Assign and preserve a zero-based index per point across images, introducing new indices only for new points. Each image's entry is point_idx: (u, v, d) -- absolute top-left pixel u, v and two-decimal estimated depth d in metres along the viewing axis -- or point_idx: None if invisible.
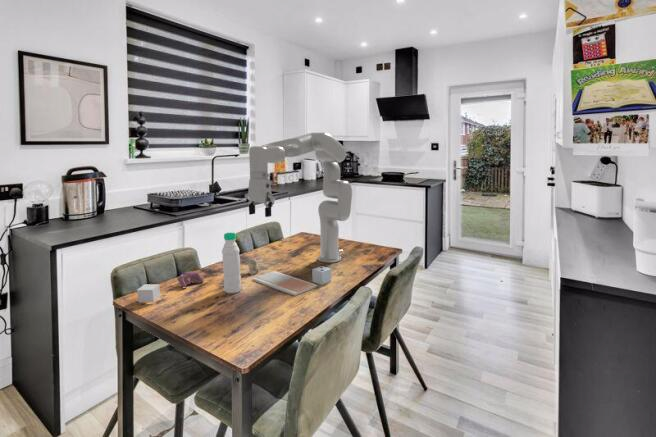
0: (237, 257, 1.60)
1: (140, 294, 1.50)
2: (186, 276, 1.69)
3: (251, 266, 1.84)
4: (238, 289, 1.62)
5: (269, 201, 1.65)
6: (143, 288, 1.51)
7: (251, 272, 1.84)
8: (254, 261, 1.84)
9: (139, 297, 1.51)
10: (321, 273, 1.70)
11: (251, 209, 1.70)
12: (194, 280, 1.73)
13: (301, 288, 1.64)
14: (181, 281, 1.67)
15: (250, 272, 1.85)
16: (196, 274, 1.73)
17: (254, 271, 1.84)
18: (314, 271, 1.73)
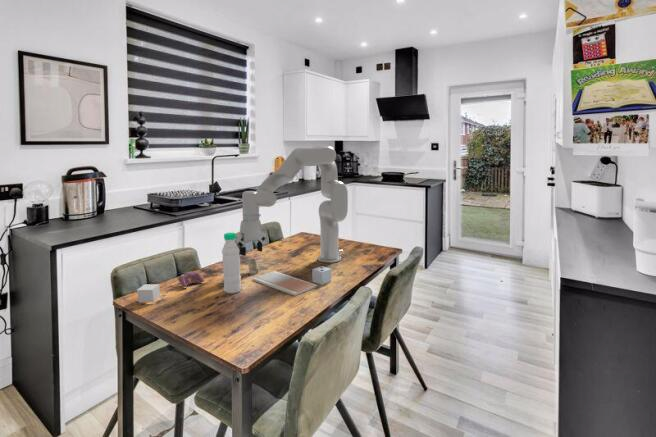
0: (237, 257, 1.60)
1: (140, 294, 1.50)
2: (187, 276, 1.69)
3: (251, 266, 1.84)
4: (238, 289, 1.62)
5: None
6: (143, 288, 1.51)
7: (251, 272, 1.84)
8: (254, 261, 1.84)
9: (139, 297, 1.51)
10: (321, 273, 1.70)
11: None
12: (195, 280, 1.72)
13: (301, 288, 1.64)
14: (182, 281, 1.67)
15: (250, 272, 1.85)
16: (197, 274, 1.73)
17: (254, 271, 1.84)
18: (314, 271, 1.73)
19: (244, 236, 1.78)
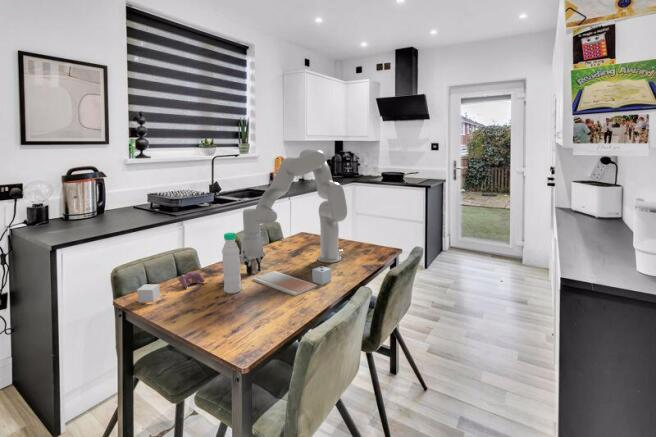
0: (237, 257, 1.60)
1: (140, 294, 1.50)
2: (187, 276, 1.69)
3: None
4: (238, 289, 1.62)
5: None
6: (143, 288, 1.51)
7: None
8: (254, 261, 1.84)
9: (139, 297, 1.51)
10: (321, 273, 1.70)
11: None
12: (195, 280, 1.72)
13: (301, 288, 1.64)
14: (182, 281, 1.66)
15: None
16: (197, 274, 1.72)
17: (254, 271, 1.84)
18: (314, 271, 1.73)
19: (246, 254, 1.80)
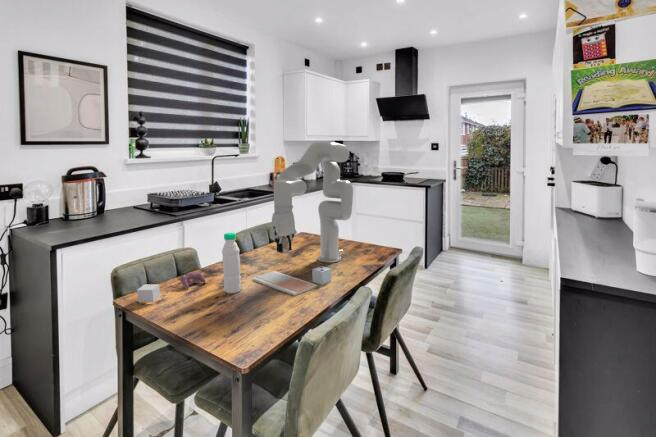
0: (237, 257, 1.60)
1: (140, 294, 1.50)
2: (188, 277, 1.68)
3: None
4: (238, 289, 1.62)
5: (288, 234, 1.71)
6: (143, 288, 1.51)
7: None
8: (285, 238, 1.67)
9: (139, 297, 1.51)
10: (321, 273, 1.70)
11: None
12: (196, 281, 1.72)
13: (301, 288, 1.64)
14: (184, 282, 1.66)
15: None
16: (198, 275, 1.72)
17: (285, 249, 1.67)
18: (314, 271, 1.73)
19: (276, 230, 1.63)
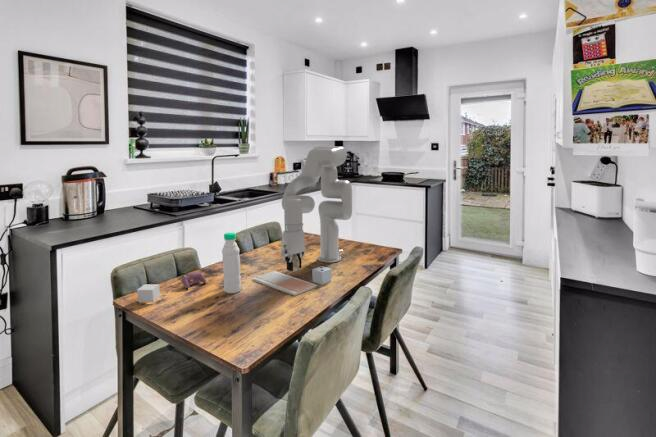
0: (237, 257, 1.60)
1: (140, 294, 1.50)
2: (189, 277, 1.68)
3: None
4: (238, 289, 1.62)
5: None
6: (143, 288, 1.51)
7: None
8: (295, 257, 1.64)
9: (139, 297, 1.51)
10: (321, 273, 1.70)
11: None
12: (197, 281, 1.72)
13: (301, 288, 1.64)
14: (184, 282, 1.66)
15: None
16: (199, 275, 1.72)
17: (295, 267, 1.64)
18: (314, 271, 1.73)
19: (287, 248, 1.60)
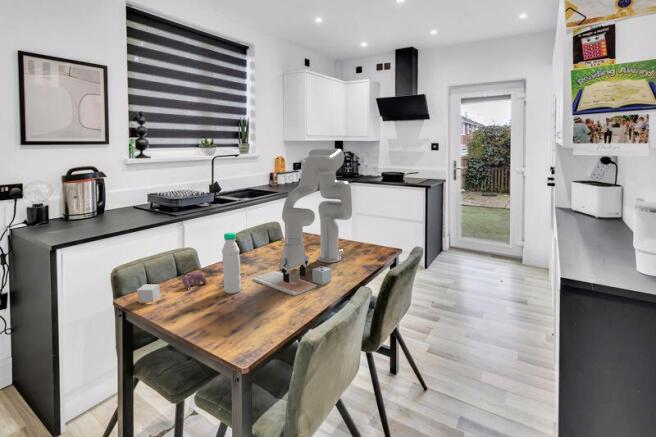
0: (237, 257, 1.60)
1: (140, 294, 1.50)
2: (190, 277, 1.68)
3: (293, 277, 1.65)
4: (238, 289, 1.62)
5: None
6: (143, 288, 1.51)
7: (292, 284, 1.66)
8: (296, 272, 1.66)
9: (139, 297, 1.51)
10: (321, 273, 1.70)
11: None
12: (198, 281, 1.71)
13: (301, 288, 1.64)
14: (185, 282, 1.66)
15: (291, 284, 1.66)
16: (200, 275, 1.72)
17: (296, 282, 1.66)
18: (314, 271, 1.73)
19: (287, 262, 1.61)
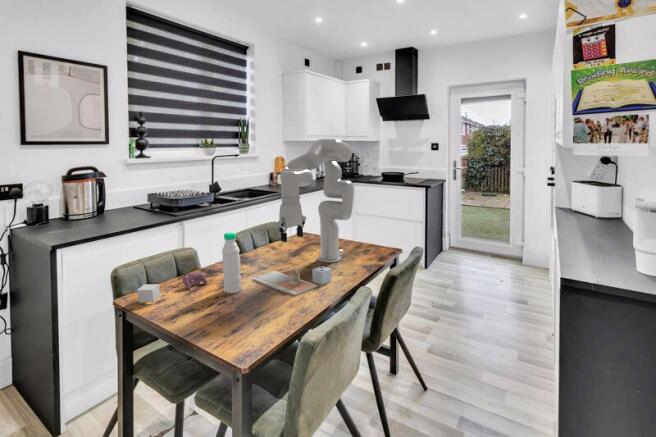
0: (237, 257, 1.60)
1: (140, 294, 1.50)
2: (190, 277, 1.68)
3: (293, 277, 1.65)
4: (238, 289, 1.62)
5: None
6: (143, 288, 1.51)
7: (292, 284, 1.66)
8: (296, 272, 1.65)
9: (139, 297, 1.51)
10: (321, 273, 1.70)
11: None
12: (198, 281, 1.71)
13: (301, 288, 1.64)
14: (186, 282, 1.65)
15: (291, 284, 1.66)
16: (200, 275, 1.71)
17: (295, 282, 1.66)
18: (314, 271, 1.73)
19: (285, 221, 1.63)
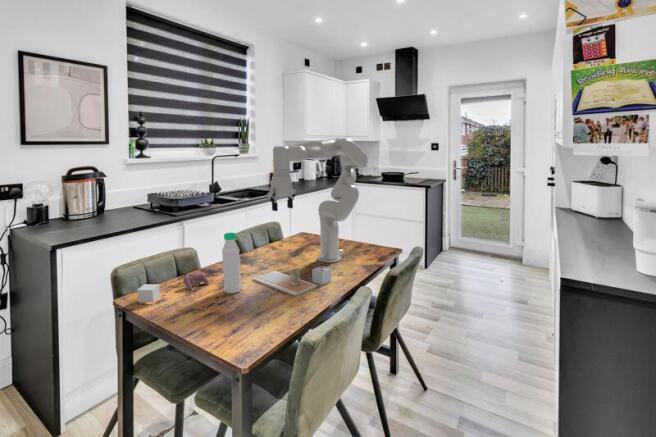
0: (237, 257, 1.60)
1: (140, 294, 1.50)
2: (191, 277, 1.67)
3: (292, 277, 1.65)
4: (238, 289, 1.62)
5: None
6: (143, 288, 1.51)
7: (292, 284, 1.66)
8: (296, 272, 1.65)
9: (139, 297, 1.51)
10: (321, 273, 1.70)
11: None
12: (199, 281, 1.71)
13: (301, 288, 1.64)
14: (187, 283, 1.65)
15: (291, 284, 1.66)
16: (201, 275, 1.71)
17: (295, 282, 1.66)
18: (314, 271, 1.73)
19: (276, 191, 1.77)
